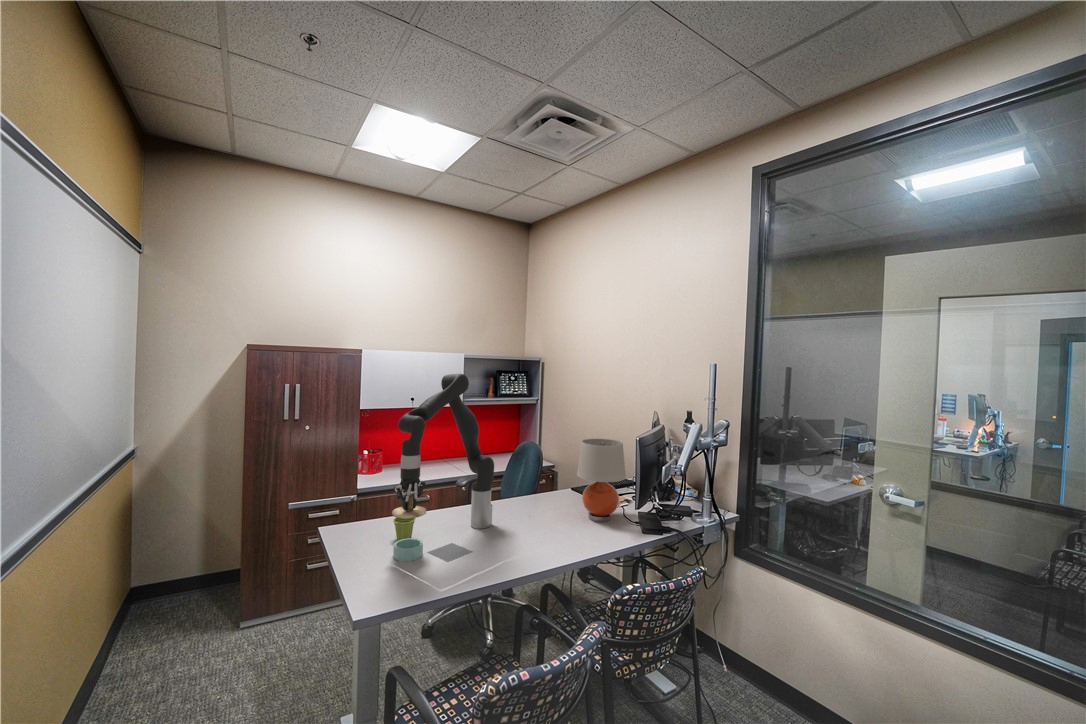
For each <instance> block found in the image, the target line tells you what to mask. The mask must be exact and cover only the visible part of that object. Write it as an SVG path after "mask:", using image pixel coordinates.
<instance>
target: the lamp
mask: <svg viewBox="0 0 1086 724" xmlns="http://www.w3.org/2000/svg"><path fill="white" fill-rule="evenodd" d="M576 476H577V477H579V478H580V479H583V480H585V481H590V482H592V483H590V484H588V485H587V486H586V487H585V488H584V490H583V491H582V492H583V493H582V497H581V498H582V503H583V507H584V508H585V510H586V511H587V512H588V519H589V520H591V521H592V522H596V523H598V522H599V523H608V522H610V521H612V519H613V514H614V512H615V511H616V510H617V508H618V506H619V503H620V496H619V492H618V491H617V489H616V488H615V486H613V485H612V484H610V483H617V482H621V481H624V480H626V478H627V474H626V464H625V453H624V444H623V442H622V441H621V440H615V439H610V438H588V439H587V438H585V439H583V440H581V447H580V452H579V459H578V466H577V473H576Z"/></svg>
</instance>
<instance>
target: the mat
mask: <svg viewBox="0 0 1086 724" xmlns="http://www.w3.org/2000/svg"><path fill="white" fill-rule="evenodd" d="M473 552H474V551H473V550H471V549H468V548H465V547H464V546H461V545H459V544H456V543H453V542H451V543H448V544H445V545H443V546H441V547H438V548H437V547H436V548H434V549H432V550H429V551H427V554H429V555H432V556H433V557H435V558H438V559H439V560H442V561H444V562H446V563H449V562H451V561H454V560H456V559H459V558H461V557H464V556H465V555H466V556H467V555H470V554H471V553H473Z"/></svg>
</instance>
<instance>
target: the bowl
mask: <svg viewBox="0 0 1086 724" xmlns="http://www.w3.org/2000/svg"><path fill="white" fill-rule="evenodd" d="M392 551H393V552H392V553H393V554H392V555H393V558H394V559H395V560H396V561H400V562H410V561H415V560H418V559H420V558H422V557H423V553H424V552H423V551H424V542H423V539H422V540H421V539H419V538H413V537H412V538H408V539H402V540H397V541H395V542H394V543H393V549H392Z"/></svg>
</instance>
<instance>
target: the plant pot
mask: <svg viewBox="0 0 1086 724" xmlns="http://www.w3.org/2000/svg"><path fill="white" fill-rule="evenodd" d="M416 518H417V517H416ZM416 518H409V519H403V518H397V517H394V518H393V519H392V522H393V523H394V528H395V534H396V537H395V538H396V540H397V541H399V540H402V539H408V538H413V531H414V530H413V529H414V524H415V521H416V520H417V519H416Z"/></svg>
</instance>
